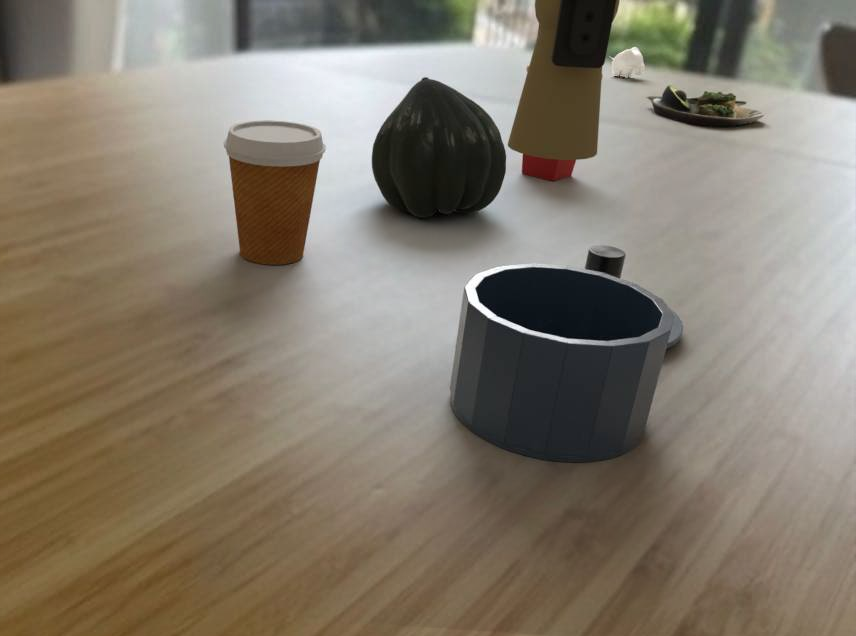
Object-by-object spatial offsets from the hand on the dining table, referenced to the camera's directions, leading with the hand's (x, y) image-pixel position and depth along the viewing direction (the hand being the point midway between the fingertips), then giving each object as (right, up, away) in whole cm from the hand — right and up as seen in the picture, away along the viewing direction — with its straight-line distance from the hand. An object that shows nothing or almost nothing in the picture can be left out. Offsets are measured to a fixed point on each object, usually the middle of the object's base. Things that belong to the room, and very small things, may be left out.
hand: (568, 55), depth 59 cm
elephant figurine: (+50, +46, +136) cm, 152 cm away
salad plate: (+52, +27, +102) cm, 118 cm away
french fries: (+15, +8, +63) cm, 65 cm away
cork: (0, -5, +3) cm, 6 cm away
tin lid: (+8, -15, +19) cm, 26 cm away
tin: (0, -23, +6) cm, 24 cm away
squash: (-3, -1, +46) cm, 46 cm away
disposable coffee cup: (-21, -8, +31) cm, 38 cm away
